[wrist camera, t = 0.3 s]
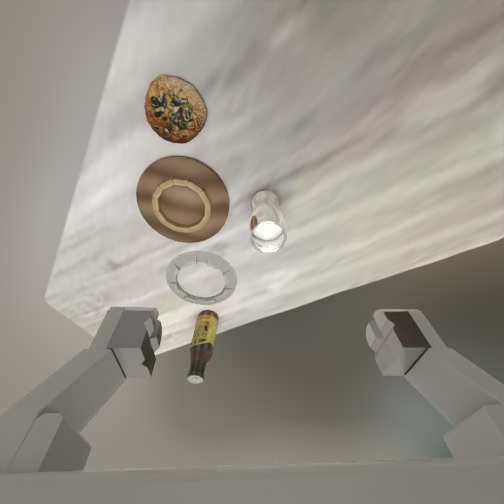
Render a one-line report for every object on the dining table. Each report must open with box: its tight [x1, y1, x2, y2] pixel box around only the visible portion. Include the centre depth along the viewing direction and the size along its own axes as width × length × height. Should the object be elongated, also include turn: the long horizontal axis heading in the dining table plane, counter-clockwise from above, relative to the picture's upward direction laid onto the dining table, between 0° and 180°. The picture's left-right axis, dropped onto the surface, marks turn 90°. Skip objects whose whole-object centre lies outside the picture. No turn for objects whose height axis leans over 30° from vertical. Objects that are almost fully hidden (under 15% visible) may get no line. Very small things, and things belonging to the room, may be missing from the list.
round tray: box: [136, 156, 229, 243], centre depth 57 cm, size 20×20×3 cm
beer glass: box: [249, 190, 287, 253], centre depth 52 cm, size 7×7×15 cm
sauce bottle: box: [187, 311, 218, 383], centre depth 72 cm, size 6×6×20 cm
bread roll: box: [145, 75, 207, 143], centre depth 47 cm, size 11×11×5 cm
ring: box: [166, 251, 237, 305], centre depth 71 cm, size 19×19×2 cm
